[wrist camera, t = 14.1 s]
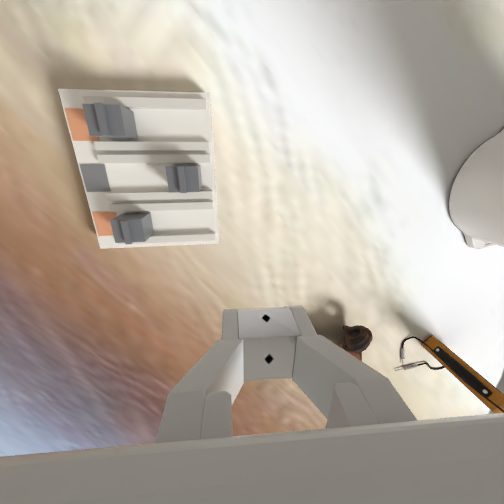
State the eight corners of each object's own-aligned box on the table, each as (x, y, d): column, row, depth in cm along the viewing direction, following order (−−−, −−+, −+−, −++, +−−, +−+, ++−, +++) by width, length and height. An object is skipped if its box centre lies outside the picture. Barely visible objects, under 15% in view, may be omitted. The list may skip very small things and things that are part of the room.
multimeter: (379, 359, 45) (490, 501, 26) (420, 324, 42) (573, 451, 24) (420, 387, 49) (538, 523, 31) (458, 357, 47) (610, 484, 29)
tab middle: (200, 165, 25) (197, 166, 22) (202, 188, 26) (199, 192, 23) (172, 165, 25) (163, 166, 21) (175, 188, 26) (167, 193, 22)
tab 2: (150, 212, 27) (139, 220, 23) (153, 232, 27) (143, 243, 24) (122, 213, 26) (107, 221, 23) (127, 233, 27) (112, 245, 24)
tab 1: (133, 111, 23) (117, 103, 19) (138, 138, 24) (123, 135, 20) (100, 111, 22) (77, 102, 19) (106, 138, 23) (85, 134, 20)
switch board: (210, 98, 25) (209, 90, 22) (219, 237, 31) (219, 245, 28) (73, 95, 24) (52, 86, 21) (109, 241, 30) (97, 251, 27)
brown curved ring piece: (337, 364, 44) (333, 402, 37) (298, 331, 46) (287, 362, 38) (387, 329, 38) (393, 367, 31) (340, 293, 40) (335, 321, 32)
